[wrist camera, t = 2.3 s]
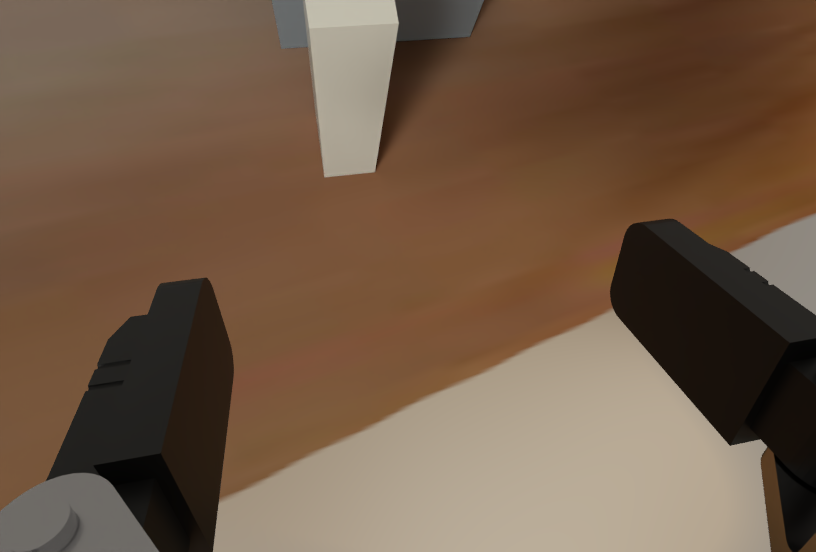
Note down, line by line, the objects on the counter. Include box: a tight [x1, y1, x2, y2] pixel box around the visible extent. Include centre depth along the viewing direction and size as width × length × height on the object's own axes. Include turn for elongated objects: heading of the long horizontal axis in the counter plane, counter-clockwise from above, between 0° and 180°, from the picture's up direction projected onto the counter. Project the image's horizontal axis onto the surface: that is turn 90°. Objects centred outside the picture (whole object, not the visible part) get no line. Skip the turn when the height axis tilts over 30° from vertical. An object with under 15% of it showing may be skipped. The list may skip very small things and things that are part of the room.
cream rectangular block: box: [303, 0, 399, 177], centre depth 23 cm, size 3×4×13 cm
